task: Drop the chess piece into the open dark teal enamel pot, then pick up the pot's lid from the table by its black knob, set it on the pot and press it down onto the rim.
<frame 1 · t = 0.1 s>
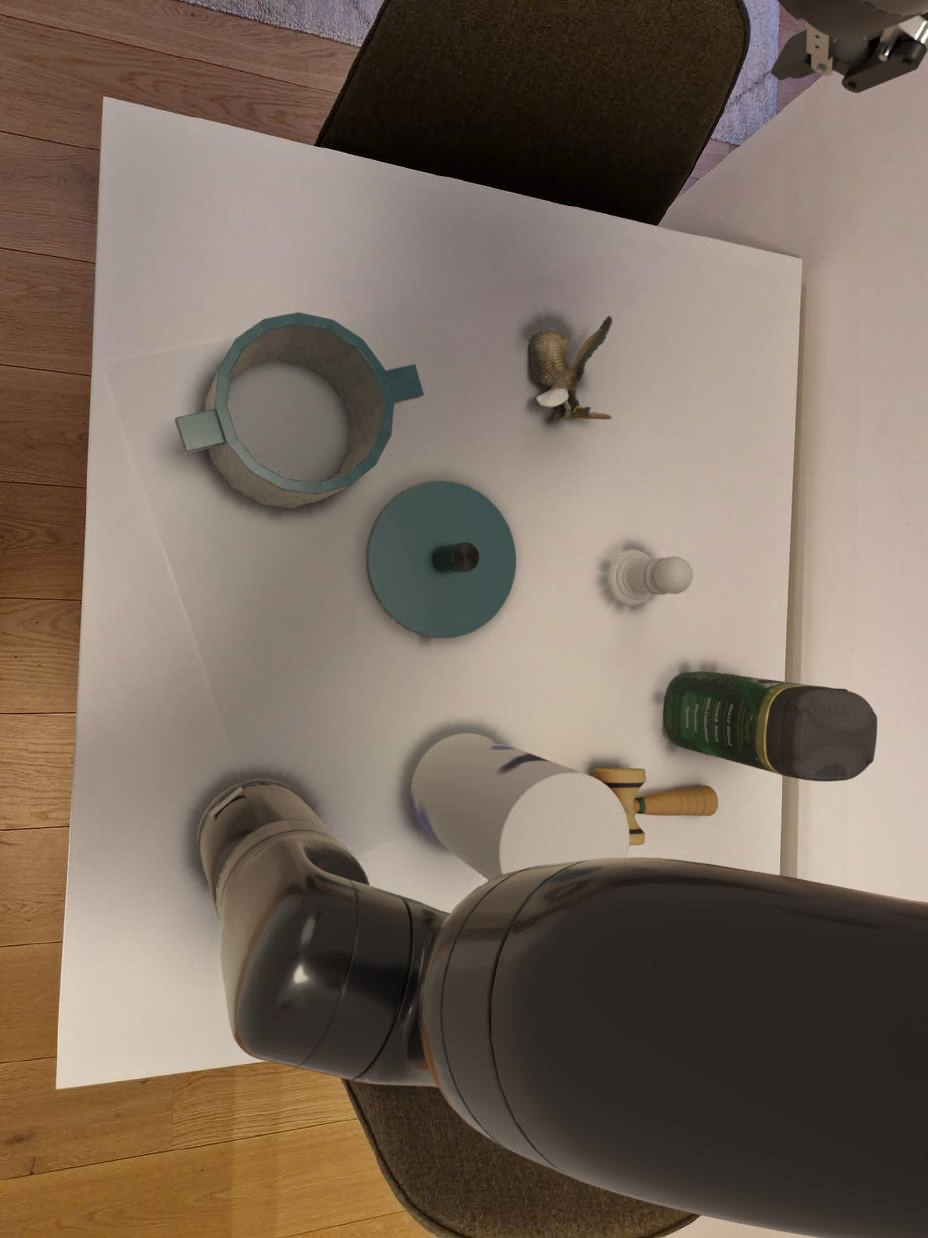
hand: (727, 14, 50), 31 cm above the table, tool tilted 20°, fingers open, 8 cm apart
container: (461, 787, 79), on the table
kendama: (620, 798, 85), on the table
chess piece: (628, 577, 85), on the table
pot: (282, 430, 72), on the table
lid: (442, 559, 77), point 1 cm above the table
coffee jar: (699, 710, 88), on the table
eagle figurine: (556, 376, 82), on the table
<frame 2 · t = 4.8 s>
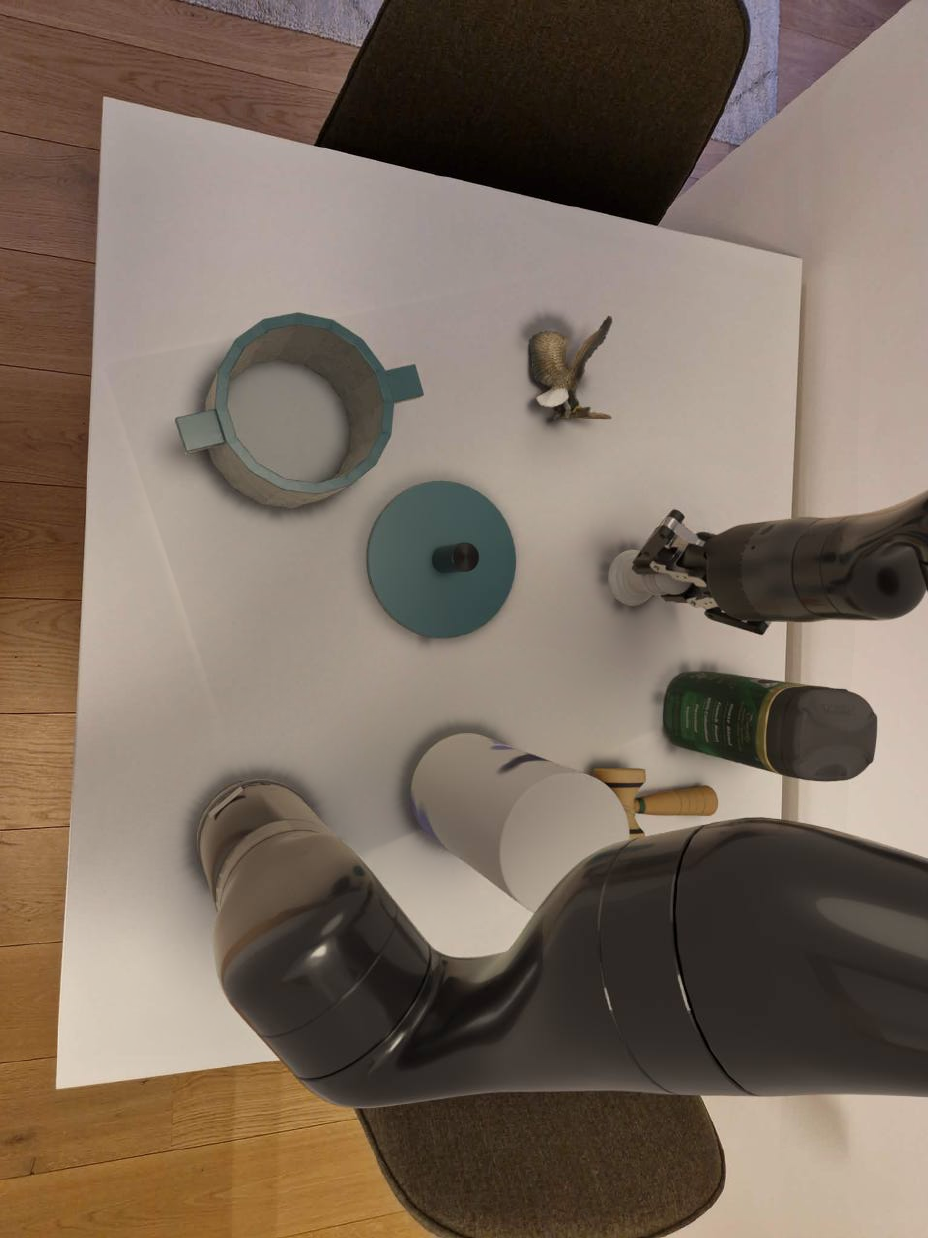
hand: (653, 576, 81), 4 cm above the table, tool pointing down, fingers closed on chess piece, 3 cm apart
chess piece: (628, 577, 85), on the table, touching gripper
everything else where it was.
when the fingers open (13 cm above the table, at t = 13.7 s): chess piece drops 8 cm, resting on pot.
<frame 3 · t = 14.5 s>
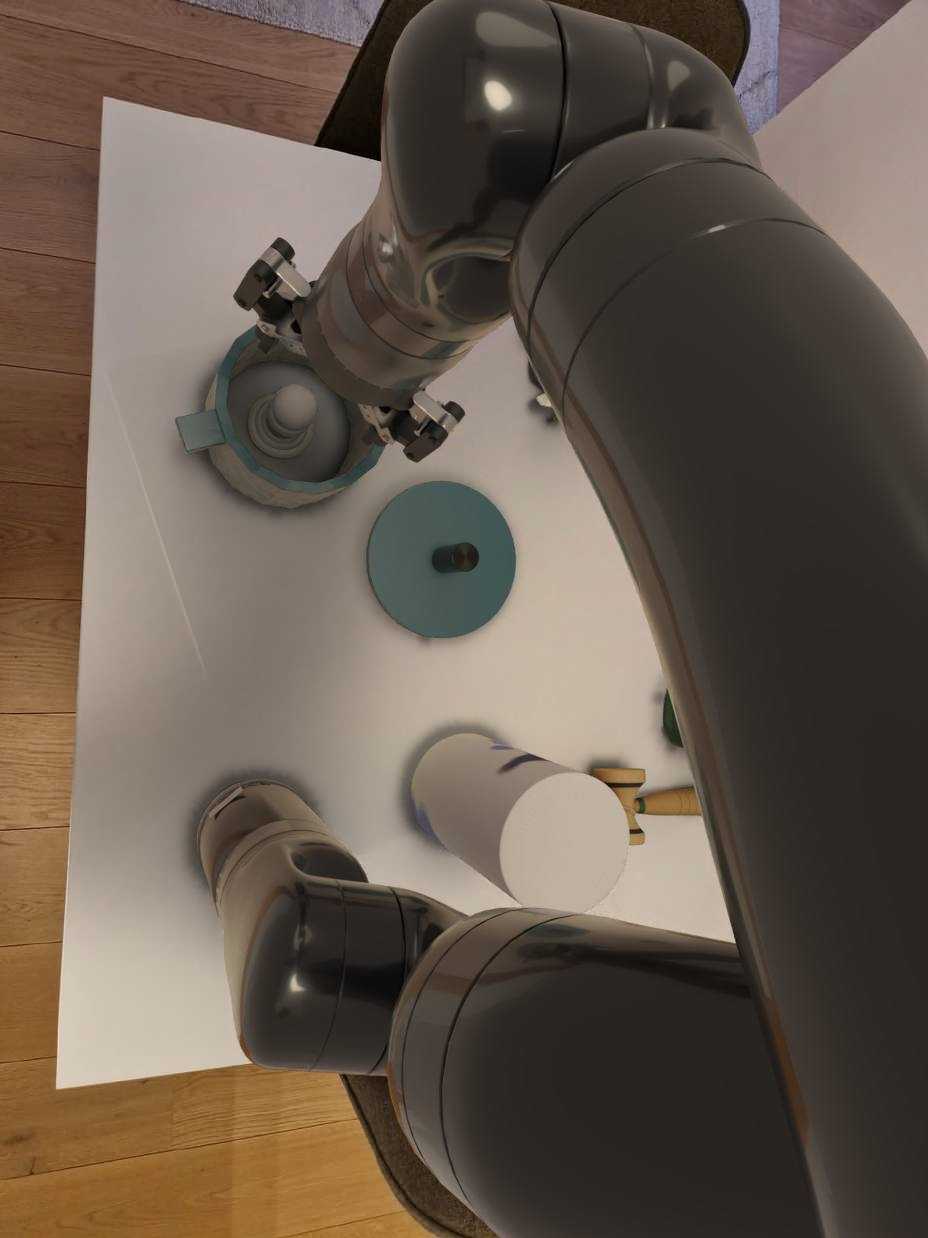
hand: (323, 386, 58), 16 cm above the table, tool pointing down, fingers open, 8 cm apart
chess piece: (279, 426, 72), resting on pot
everything else where it was.
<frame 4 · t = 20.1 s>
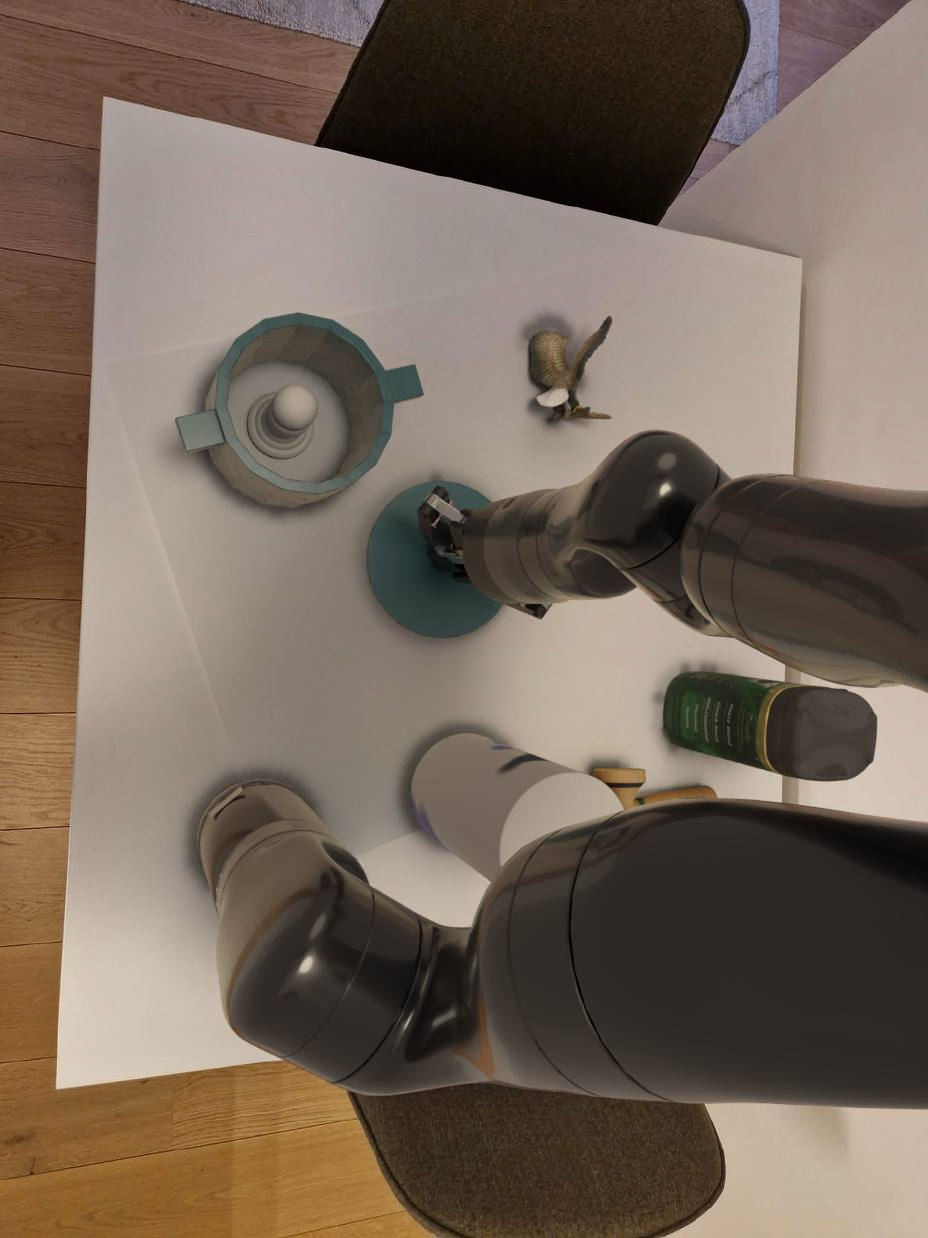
hand: (448, 559, 76), 2 cm above the table, tool pointing down, fingers closed on lid, 2 cm apart
lid: (442, 559, 77), point 1 cm above the table, touching gripper
everything else where it was.
when the fingers open (12 cm above the table, at t = 28.1 s): lid stays where it is, resting on pot.
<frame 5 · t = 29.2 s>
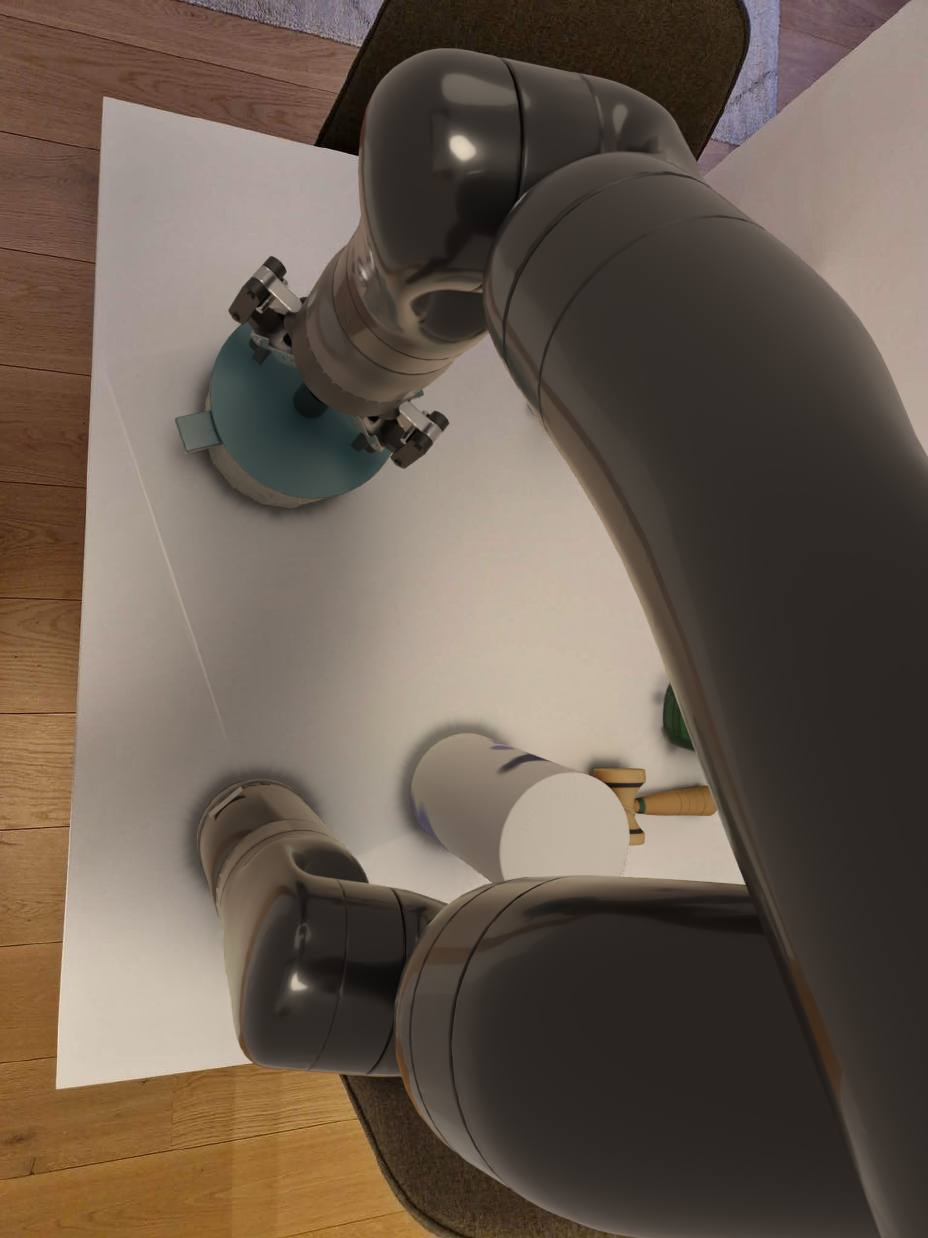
hand: (315, 395, 60), 13 cm above the table, tool pointing down, fingers open, 8 cm apart
lid: (308, 403, 63), point 10 cm above the table, touching pot
everything else where it was.
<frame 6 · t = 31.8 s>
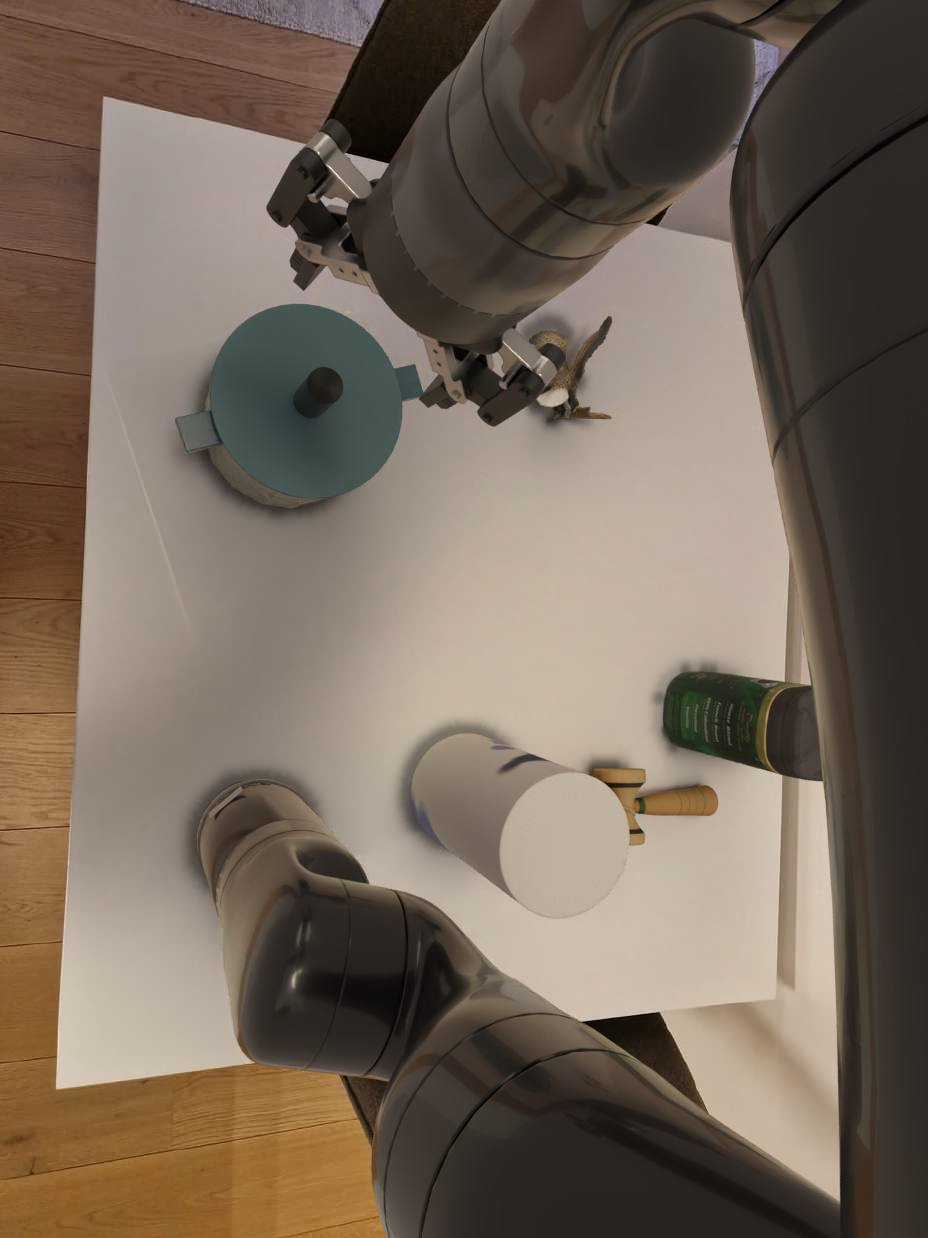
hand: (373, 333, 46), 28 cm above the table, tool pointing down, fingers open, 8 cm apart
nothing on the table moved.
at the end: chess piece inside the target area in the pot (0.4 cm from its centre), point 0.3 cm above the pot's base; lid 0.1 cm off-centre on the pot, point 10.5 cm above the pot's base; lid tilted 0° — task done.
